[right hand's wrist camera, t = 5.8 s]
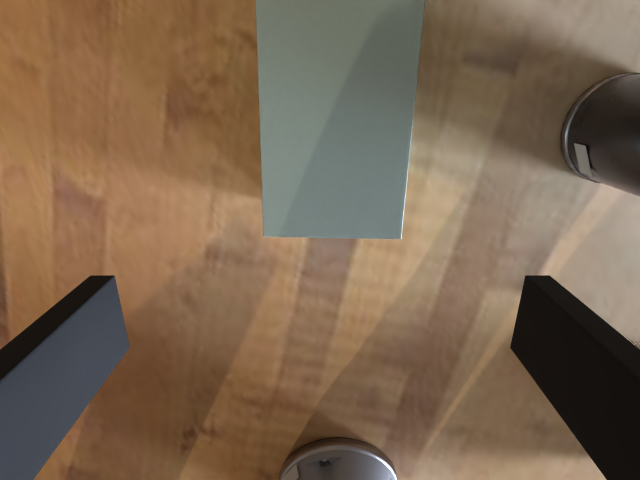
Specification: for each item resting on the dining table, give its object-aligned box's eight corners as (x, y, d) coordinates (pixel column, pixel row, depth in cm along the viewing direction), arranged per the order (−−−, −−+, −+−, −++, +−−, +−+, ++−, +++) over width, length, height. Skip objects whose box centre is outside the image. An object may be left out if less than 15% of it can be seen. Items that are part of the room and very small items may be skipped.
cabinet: (271, -58, 31) (251, -117, 22) (403, -55, 31) (436, -112, 22) (276, 202, 38) (263, 236, 29) (382, 204, 38) (401, 239, 29)
